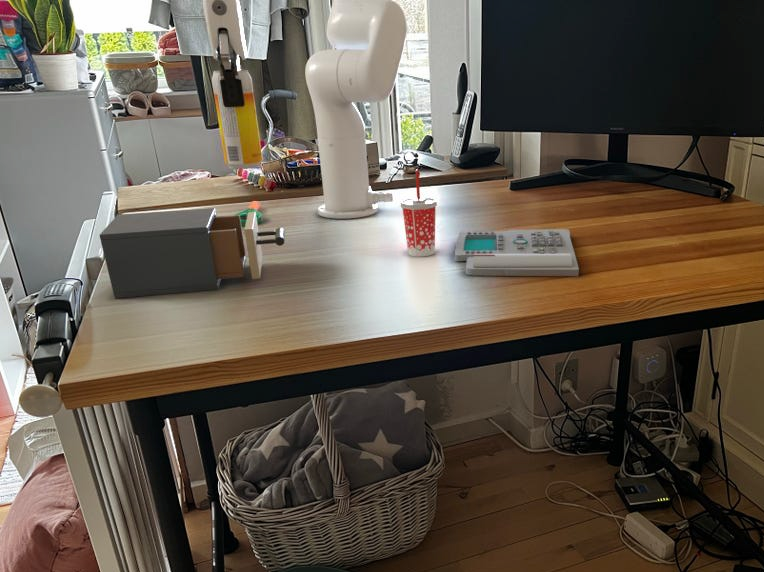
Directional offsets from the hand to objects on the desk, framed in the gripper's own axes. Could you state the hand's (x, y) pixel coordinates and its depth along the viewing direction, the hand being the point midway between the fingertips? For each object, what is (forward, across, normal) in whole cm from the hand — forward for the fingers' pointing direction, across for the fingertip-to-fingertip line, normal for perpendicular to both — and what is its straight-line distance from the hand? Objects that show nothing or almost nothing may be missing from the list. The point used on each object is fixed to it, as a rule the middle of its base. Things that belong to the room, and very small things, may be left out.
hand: (235, 103), depth 118 cm
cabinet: (+25, -13, +12) cm, 31 cm away
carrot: (+25, +26, +2) cm, 36 cm away
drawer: (+24, -13, +4) cm, 28 cm away
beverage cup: (+25, -10, -28) cm, 38 cm away
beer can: (+10, 0, 0) cm, 10 cm away
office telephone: (+25, -16, -42) cm, 52 cm away
